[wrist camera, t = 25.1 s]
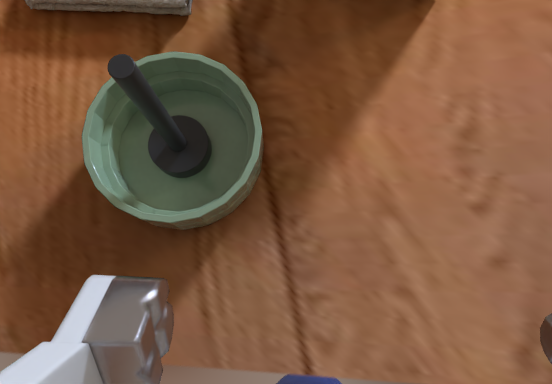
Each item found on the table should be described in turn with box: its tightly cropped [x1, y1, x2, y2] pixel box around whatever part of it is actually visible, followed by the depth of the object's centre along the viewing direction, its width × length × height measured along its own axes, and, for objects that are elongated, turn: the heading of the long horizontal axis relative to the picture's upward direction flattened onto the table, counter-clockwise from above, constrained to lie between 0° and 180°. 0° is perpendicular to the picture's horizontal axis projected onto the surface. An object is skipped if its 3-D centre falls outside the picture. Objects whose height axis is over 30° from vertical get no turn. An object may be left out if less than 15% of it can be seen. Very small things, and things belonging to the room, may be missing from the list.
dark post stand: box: [108, 54, 212, 178], centre depth 32 cm, size 6×6×16 cm
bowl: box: [82, 52, 264, 230], centre depth 37 cm, size 15×15×6 cm
